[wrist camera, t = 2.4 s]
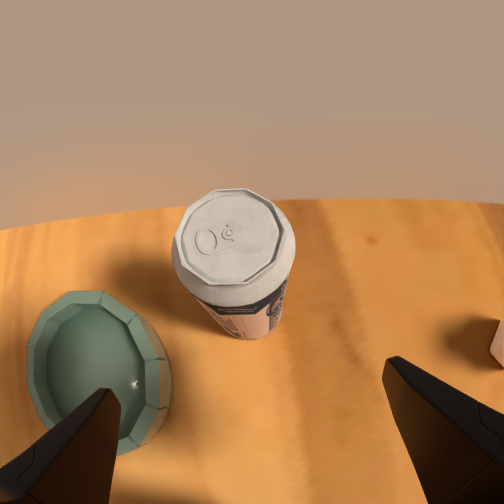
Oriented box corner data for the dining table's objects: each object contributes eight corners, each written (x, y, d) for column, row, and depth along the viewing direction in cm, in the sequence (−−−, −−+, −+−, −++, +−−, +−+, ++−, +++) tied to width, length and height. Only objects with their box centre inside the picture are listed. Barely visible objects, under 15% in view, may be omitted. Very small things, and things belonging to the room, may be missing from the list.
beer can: (291, 328, 20) (320, 270, 9) (229, 349, 20) (180, 319, 9) (268, 270, 22) (268, 164, 11) (209, 290, 22) (154, 202, 11)
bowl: (131, 479, 15) (116, 489, 13) (31, 386, 18) (11, 384, 16) (202, 352, 20) (193, 349, 17) (85, 275, 23) (68, 264, 20)
